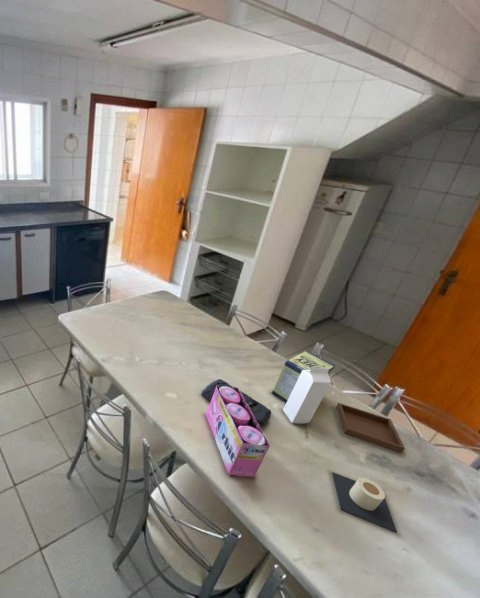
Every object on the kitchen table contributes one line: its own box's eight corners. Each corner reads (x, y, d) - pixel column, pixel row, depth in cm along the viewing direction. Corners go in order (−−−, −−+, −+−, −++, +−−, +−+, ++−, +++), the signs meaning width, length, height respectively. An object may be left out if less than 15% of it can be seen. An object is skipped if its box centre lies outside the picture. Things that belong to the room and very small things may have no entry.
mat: (381, 492, 93) (382, 491, 93) (396, 532, 83) (397, 531, 83) (332, 473, 97) (332, 472, 97) (340, 509, 88) (341, 508, 87)
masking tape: (372, 495, 92) (381, 484, 89) (378, 515, 87) (388, 503, 84) (346, 485, 94) (354, 474, 91) (351, 504, 89) (360, 492, 87)
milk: (282, 410, 119) (305, 361, 109) (298, 411, 119) (323, 362, 109) (292, 423, 114) (317, 373, 104) (309, 424, 114) (335, 374, 104)
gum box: (203, 412, 115) (213, 382, 109) (226, 413, 115) (237, 384, 109) (228, 475, 94) (242, 443, 88) (255, 477, 94) (271, 445, 88)
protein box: (318, 397, 127) (336, 365, 120) (298, 411, 119) (315, 378, 112) (291, 380, 134) (306, 349, 127) (270, 393, 127) (285, 361, 120)
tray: (386, 425, 116) (390, 419, 115) (400, 454, 105) (405, 448, 104) (334, 408, 122) (338, 402, 120) (342, 434, 111) (346, 428, 109)
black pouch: (220, 380, 132) (223, 370, 129) (274, 416, 116) (279, 406, 114) (196, 394, 123) (199, 384, 121) (252, 435, 108) (257, 425, 106)
